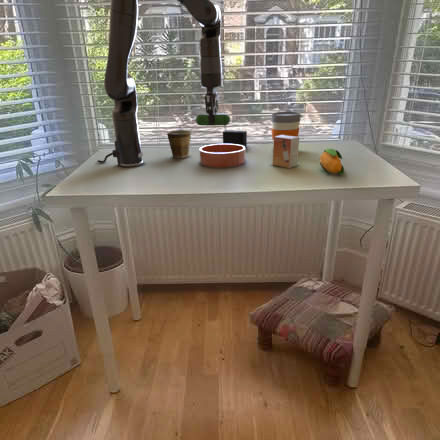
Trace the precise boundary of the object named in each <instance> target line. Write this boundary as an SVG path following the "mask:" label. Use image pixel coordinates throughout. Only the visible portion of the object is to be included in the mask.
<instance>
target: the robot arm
mask: <svg viewBox="0 0 440 440" xmlns="http://www.w3.org/2000/svg"><path fill="white" fill-rule="evenodd" d="M176 1H177V2H178V3H179V4H180V5H181V6H182V7H184V8H185V10H186V11H187V12H188V13H189V14H190V15H191V17H192V18H193V19H194V20H195V21H196V22H197V23H198V24H199V25H200V26H201V31H200V32H201V37H200V39H199V77H200V79H199V80H200V87H201V88H204V89H206V93H205V95H204V97H203V98H204V104H205V114H208V122H209V125H210V126H209V127H211V126H212V127H213V125H215V115H214V114H218V110H219V95H220V93H219V92H218V91H217V88H220V87H222V85H223V75H222V74H223V73H222V72H223V71H222V70H223V69H222V59H221V40H220V39H221V29H222V15H221V10H220V8H219V6H218V4H217V3H215V2H214V1H213V2H212V1H211V0H176ZM138 24H139V1H138V0H110V11H109V29H108V30H109V31H108V51H107V59H106V60H107V61H106V67H105V73H104V80H103V86H104V92H105V93H106V95H107V96H108V98H110V99H111V100H112V101H113V103H114V105H113V110H112V112H111V116H112V118H111V119H112V124H113V128H114V136H115V140H114V148H115V149H112V150H111V153H108V154H106V155H105V157H104V159H103V160H101V159H100V160H99V159H97V163H100V164H105V163H106V162H107V159H108V158H109V157H111V156H112V157H113V158H116V160H117V166H118V167H122V168H133V167H139V166H142V165H143V164H144V161H143V160H144V159H143V156H144V153H143V151H142V146H141V139H140V138H141V137H140V130H139V124H138V114H137V113H138V97H137V87H136V83H135V80H134V78H133V76H132V75H131V74H130V73H128V66H129V65H128V64H129V58H130V54H131V51H132V49H133V46H134V43H135V40H136V37H137V32H138Z"/></svg>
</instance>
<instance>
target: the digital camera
mask: <svg viewBox="0 0 440 440" xmlns="http://www.w3.org/2000/svg"><path fill="white" fill-rule="evenodd" d="M247 134H248V131H247V130H236V129H235V130H233V129H226V130H224V131H222V144H237V145H242V146H244V147H245V148H247V146H248V145H247V142H248V139H247V138H248V135H247Z"/></svg>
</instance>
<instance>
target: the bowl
mask: <svg viewBox="0 0 440 440" xmlns="http://www.w3.org/2000/svg"><path fill="white" fill-rule="evenodd" d="M199 162H200V164H201V165H202V166H205V167H207V168H216V169H217V168H218V169H220V168H221V169H222V168H223V169H225V168H233V167H238V166H241V165H243V164H244V163H245V162H246V147H244V146H242V145H237V144H223V143H215V144H208V145H204V146H202V147H200V148H199Z"/></svg>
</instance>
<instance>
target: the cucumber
mask: <svg viewBox="0 0 440 440" xmlns="http://www.w3.org/2000/svg"><path fill="white" fill-rule="evenodd" d="M214 115H215V125H213V126H215V127H219V126H227V125H229V124H230V122H231V117H230V115H229V114H228V113H217V114H214ZM195 123H196V125H198V126H201V127H203V126H205V127H208V126H209V127H211V126H210V125H209V122H208V114H207V113H198V114H197V115H196V116H195ZM213 126H212V127H213Z"/></svg>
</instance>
